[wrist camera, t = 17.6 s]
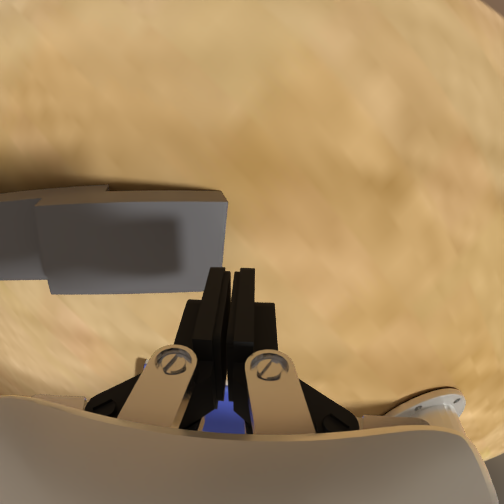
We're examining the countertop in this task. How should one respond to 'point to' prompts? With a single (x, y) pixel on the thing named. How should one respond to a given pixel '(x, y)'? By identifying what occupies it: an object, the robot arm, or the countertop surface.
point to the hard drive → (222, 417)
